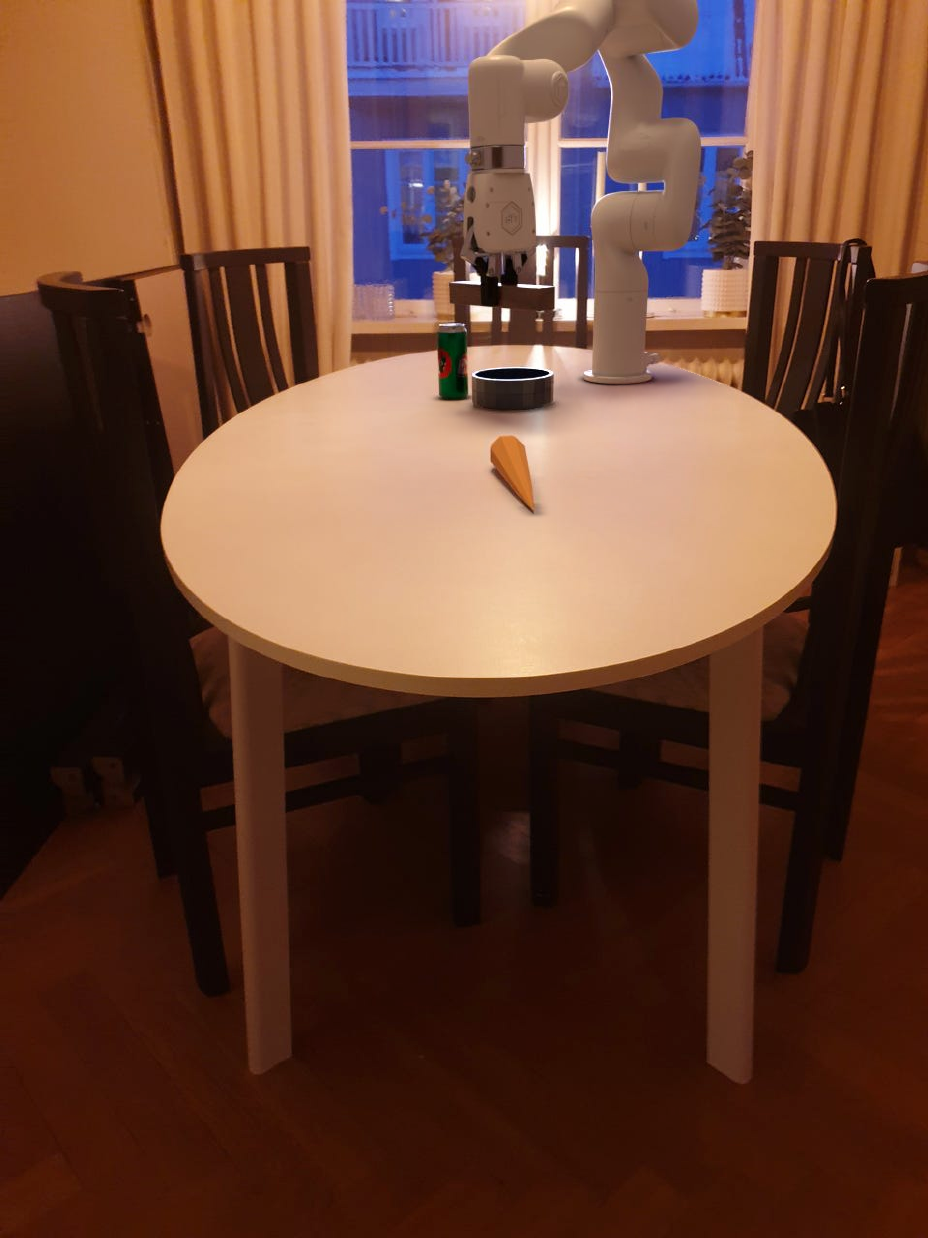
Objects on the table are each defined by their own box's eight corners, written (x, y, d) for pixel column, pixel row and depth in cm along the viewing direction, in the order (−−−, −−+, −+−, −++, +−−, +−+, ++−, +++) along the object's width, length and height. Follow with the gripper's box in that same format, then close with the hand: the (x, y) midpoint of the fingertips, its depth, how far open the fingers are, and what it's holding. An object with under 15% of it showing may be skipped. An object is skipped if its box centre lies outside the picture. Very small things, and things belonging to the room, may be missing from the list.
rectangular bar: (465, 301, 138) (464, 280, 137) (554, 309, 124) (555, 286, 123) (449, 303, 137) (448, 282, 136) (538, 311, 122) (538, 288, 121)
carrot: (495, 471, 112) (481, 439, 110) (528, 456, 111) (515, 424, 109) (521, 537, 95) (505, 501, 92) (561, 520, 94) (546, 483, 92)
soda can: (465, 400, 152) (463, 326, 147) (436, 400, 153) (433, 326, 148) (471, 395, 157) (469, 322, 152) (442, 394, 158) (440, 322, 153)
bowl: (516, 394, 156) (516, 364, 154) (569, 404, 147) (570, 373, 144) (456, 404, 149) (455, 373, 147) (507, 416, 139) (507, 383, 137)
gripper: (467, 160, 115) (471, 311, 123) (560, 161, 124) (558, 301, 132) (433, 164, 121) (439, 308, 129) (524, 164, 130) (524, 298, 138)
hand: (499, 303), depth 130 cm, fingers closed on rectangular bar, 3 cm apart
